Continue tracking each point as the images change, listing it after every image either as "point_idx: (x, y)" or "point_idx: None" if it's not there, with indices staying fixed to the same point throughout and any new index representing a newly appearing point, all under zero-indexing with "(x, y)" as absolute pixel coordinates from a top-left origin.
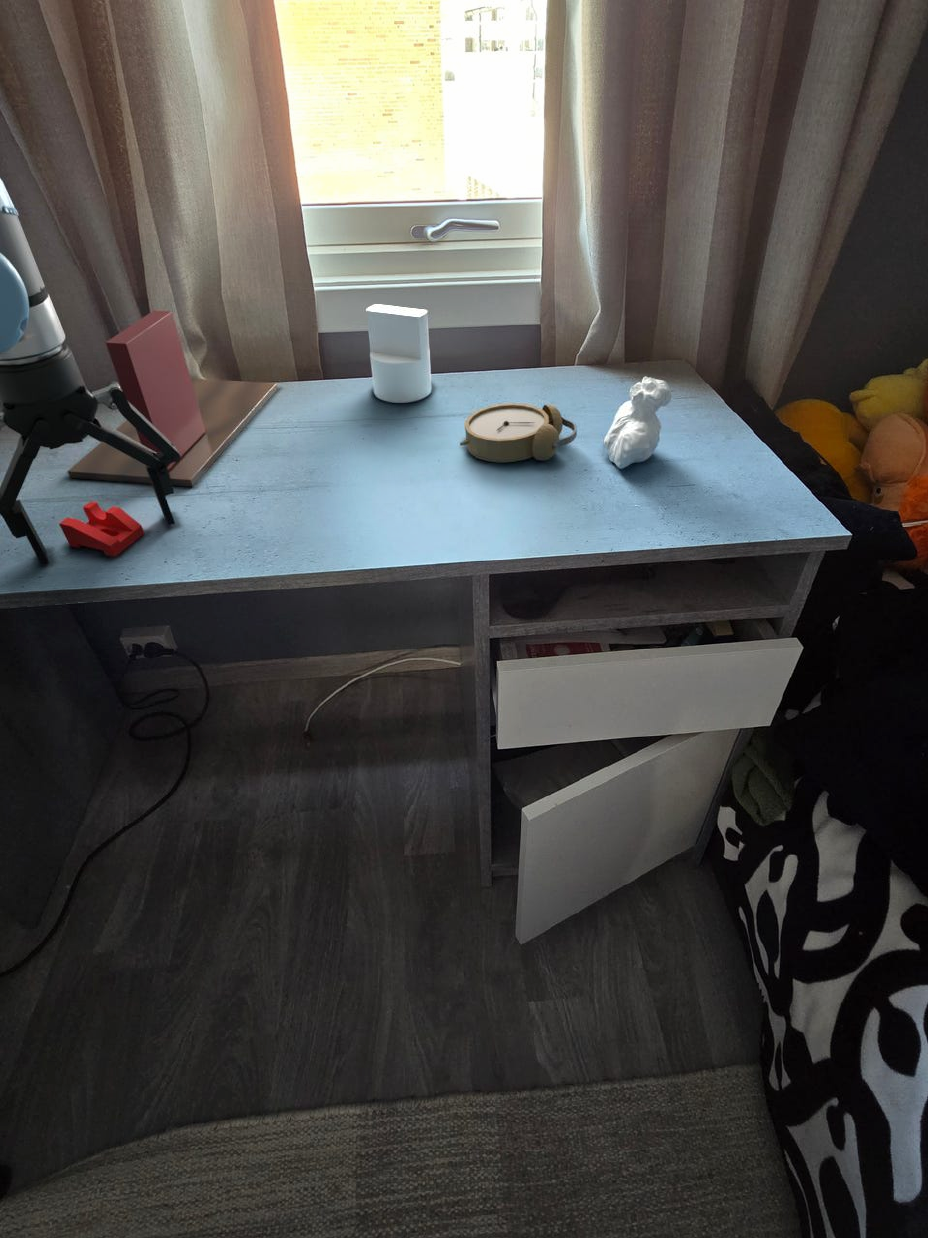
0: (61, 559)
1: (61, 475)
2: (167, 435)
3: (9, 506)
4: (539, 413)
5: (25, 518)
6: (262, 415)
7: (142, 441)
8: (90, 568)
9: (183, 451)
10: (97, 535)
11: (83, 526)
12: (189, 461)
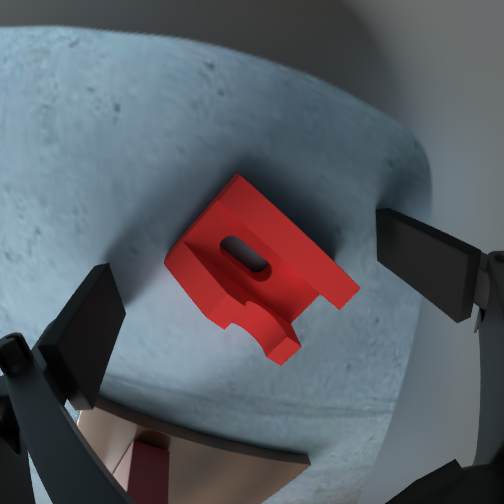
0: (352, 213)
1: (318, 460)
2: None
3: (497, 261)
4: None
5: (452, 245)
6: None
7: (163, 498)
8: (295, 147)
9: (116, 470)
10: (271, 221)
11: (305, 261)
12: (103, 448)
